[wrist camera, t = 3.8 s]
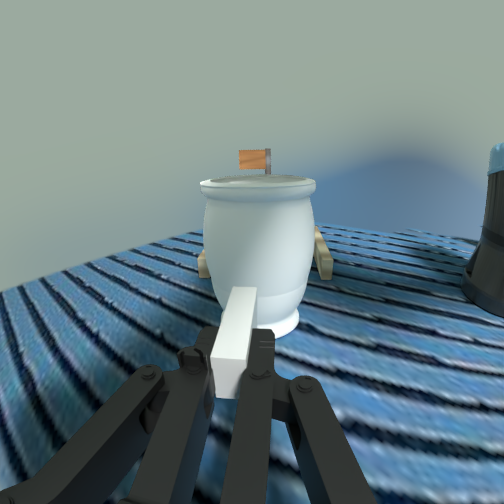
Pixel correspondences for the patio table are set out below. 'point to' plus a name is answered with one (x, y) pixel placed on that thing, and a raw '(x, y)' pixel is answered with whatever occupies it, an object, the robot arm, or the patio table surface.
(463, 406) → the patio table surface
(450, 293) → the patio table surface
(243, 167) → the box
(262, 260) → the jar
